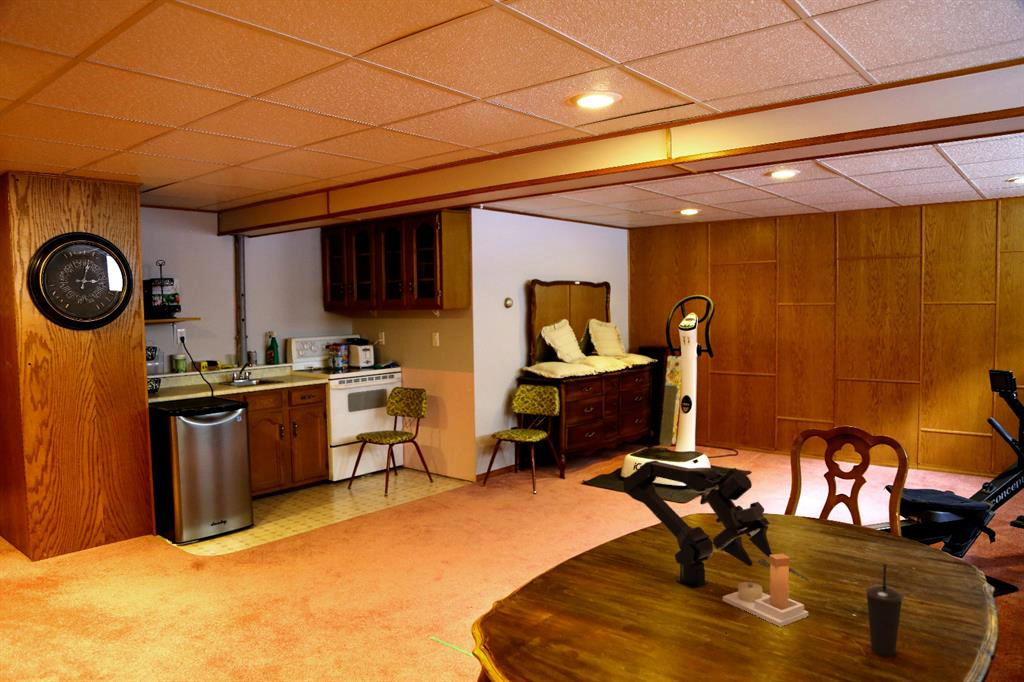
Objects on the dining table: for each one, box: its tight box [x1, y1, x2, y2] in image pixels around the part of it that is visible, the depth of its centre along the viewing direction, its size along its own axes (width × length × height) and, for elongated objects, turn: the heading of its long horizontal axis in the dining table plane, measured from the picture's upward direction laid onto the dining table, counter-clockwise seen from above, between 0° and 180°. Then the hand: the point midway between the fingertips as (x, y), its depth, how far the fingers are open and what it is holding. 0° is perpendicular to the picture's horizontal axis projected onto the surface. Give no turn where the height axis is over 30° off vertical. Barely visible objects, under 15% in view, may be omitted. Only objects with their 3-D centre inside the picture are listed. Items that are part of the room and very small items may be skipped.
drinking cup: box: [865, 564, 904, 657], centre depth 159 cm, size 8×8×20 cm
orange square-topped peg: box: [768, 553, 791, 610], centre depth 177 cm, size 4×4×14 cm
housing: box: [722, 581, 809, 628], centre depth 181 cm, size 18×11×5 cm, turn 32°
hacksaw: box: [758, 558, 837, 589], centre depth 204 cm, size 24×10×2 cm, turn 14°
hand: (761, 561), depth 181 cm, fingers open, 9 cm apart
